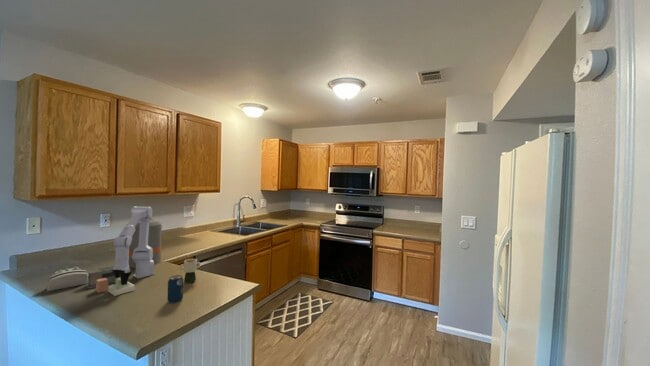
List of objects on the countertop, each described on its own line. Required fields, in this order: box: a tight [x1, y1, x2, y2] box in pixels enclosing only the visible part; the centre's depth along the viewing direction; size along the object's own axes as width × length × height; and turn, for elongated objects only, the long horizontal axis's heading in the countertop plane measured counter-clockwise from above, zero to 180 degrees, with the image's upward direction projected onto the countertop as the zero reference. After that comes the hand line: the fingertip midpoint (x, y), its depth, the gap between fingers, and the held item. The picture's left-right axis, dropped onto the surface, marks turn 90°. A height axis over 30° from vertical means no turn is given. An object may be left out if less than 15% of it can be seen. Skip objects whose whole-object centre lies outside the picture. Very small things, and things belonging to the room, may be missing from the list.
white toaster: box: [54, 265, 88, 276], centre depth 164 cm, size 14×6×15 cm
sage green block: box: [114, 277, 127, 290], centre depth 145 cm, size 4×4×6 cm
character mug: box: [179, 258, 201, 284], centre depth 161 cm, size 11×7×13 cm, turn 123°
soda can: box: [167, 274, 184, 304], centre depth 136 cm, size 7×7×12 cm
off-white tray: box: [107, 281, 136, 297], centre depth 146 cm, size 9×9×3 cm
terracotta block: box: [95, 278, 109, 294], centre depth 145 cm, size 4×4×6 cm
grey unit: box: [84, 265, 116, 289], centre depth 157 cm, size 18×6×8 cm, turn 147°
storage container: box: [126, 218, 163, 269], centre depth 194 cm, size 22×22×35 cm
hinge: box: [46, 269, 88, 292], centre depth 149 cm, size 17×5×10 cm, turn 138°
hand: (121, 283), depth 145 cm, fingers open, 6 cm apart
